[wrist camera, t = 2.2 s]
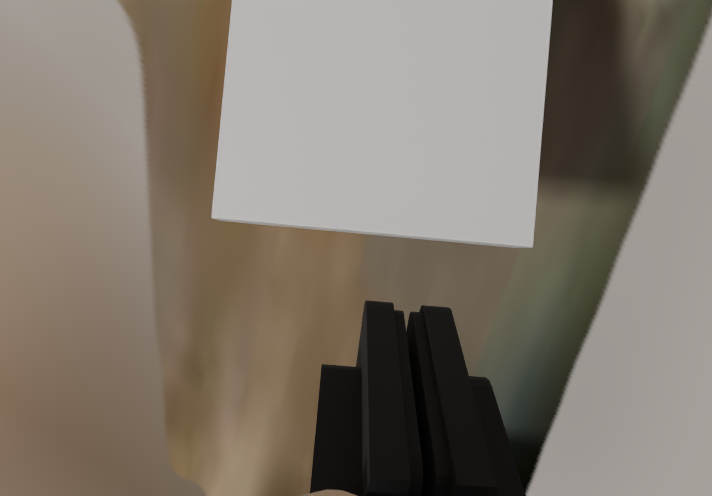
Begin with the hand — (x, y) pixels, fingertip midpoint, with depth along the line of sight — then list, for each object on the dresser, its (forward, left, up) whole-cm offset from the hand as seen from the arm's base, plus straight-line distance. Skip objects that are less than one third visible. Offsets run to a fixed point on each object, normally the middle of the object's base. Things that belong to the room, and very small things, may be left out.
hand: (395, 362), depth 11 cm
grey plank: (+3, +3, -14) cm, 15 cm away
